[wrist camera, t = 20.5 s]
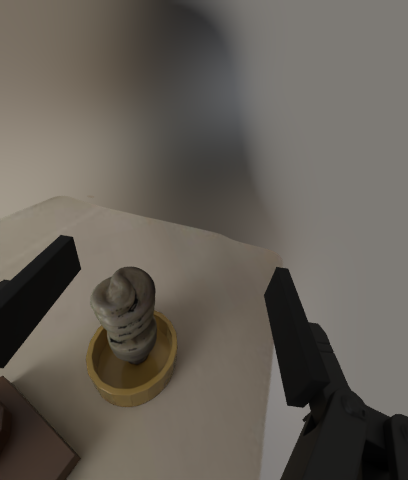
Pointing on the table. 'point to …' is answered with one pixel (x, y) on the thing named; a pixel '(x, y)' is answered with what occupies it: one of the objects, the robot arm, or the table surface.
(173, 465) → the table surface
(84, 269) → the table surface
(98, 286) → the light bulb
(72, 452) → the switch box
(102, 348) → the lamp holder
